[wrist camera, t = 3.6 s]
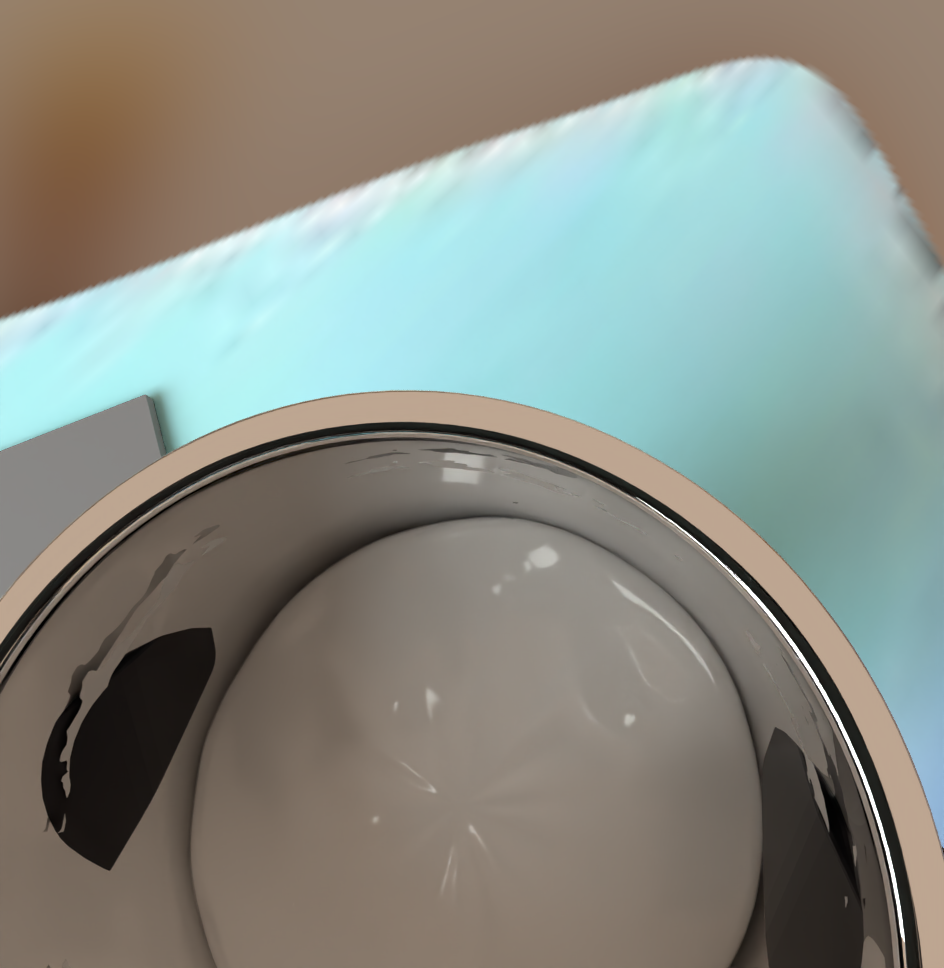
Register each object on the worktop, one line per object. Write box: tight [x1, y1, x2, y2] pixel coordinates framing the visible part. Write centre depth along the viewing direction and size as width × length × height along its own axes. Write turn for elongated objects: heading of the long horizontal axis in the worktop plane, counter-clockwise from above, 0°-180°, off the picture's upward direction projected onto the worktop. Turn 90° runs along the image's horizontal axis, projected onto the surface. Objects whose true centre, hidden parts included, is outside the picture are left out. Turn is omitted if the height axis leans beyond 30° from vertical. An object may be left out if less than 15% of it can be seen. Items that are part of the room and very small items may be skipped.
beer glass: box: [0, 390, 944, 968], centre depth 12 cm, size 7×7×15 cm
